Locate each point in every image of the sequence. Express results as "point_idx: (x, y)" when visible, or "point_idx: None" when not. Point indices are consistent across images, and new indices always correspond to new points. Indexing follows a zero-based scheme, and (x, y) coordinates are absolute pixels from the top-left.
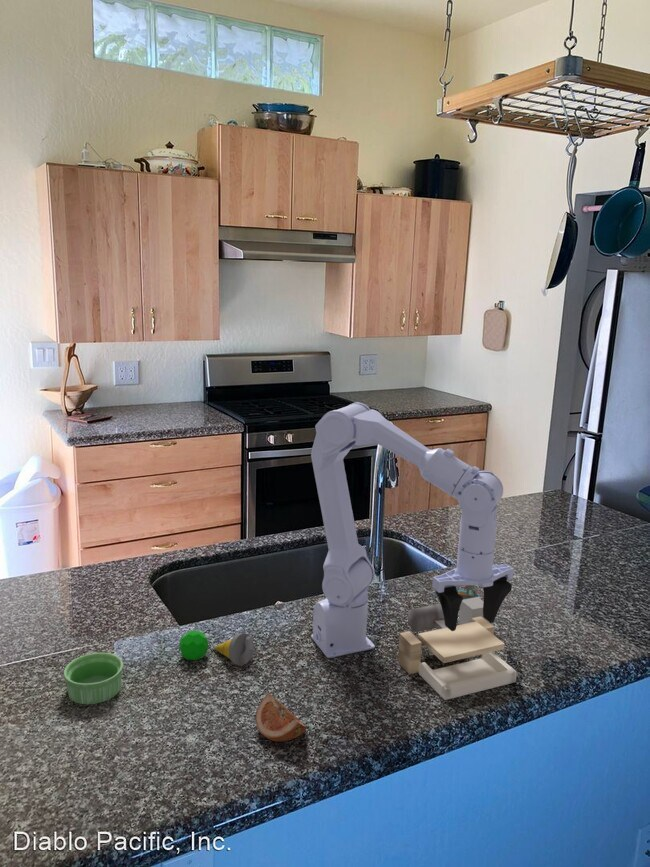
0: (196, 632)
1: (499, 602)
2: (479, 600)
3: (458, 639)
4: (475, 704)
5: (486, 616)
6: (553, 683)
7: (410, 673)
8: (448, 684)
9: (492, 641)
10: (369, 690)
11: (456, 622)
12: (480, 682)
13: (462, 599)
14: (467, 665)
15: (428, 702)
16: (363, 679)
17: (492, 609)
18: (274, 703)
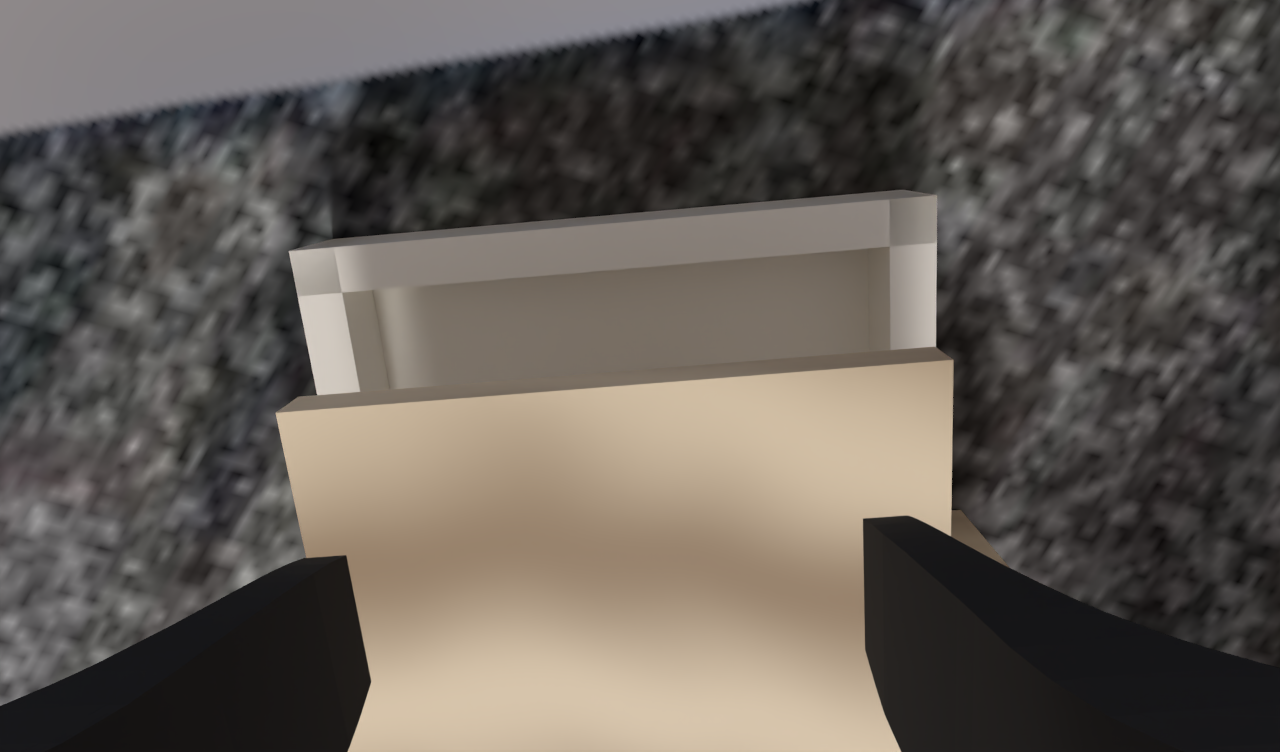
0: None
1: (81, 693)
2: None
3: (659, 583)
4: (708, 121)
5: (347, 657)
6: (60, 181)
7: (960, 519)
8: (790, 341)
9: (370, 475)
10: (1276, 449)
11: (911, 550)
12: (621, 220)
13: (1185, 749)
14: None
15: (995, 231)
16: (1245, 559)
17: (254, 662)
18: None
